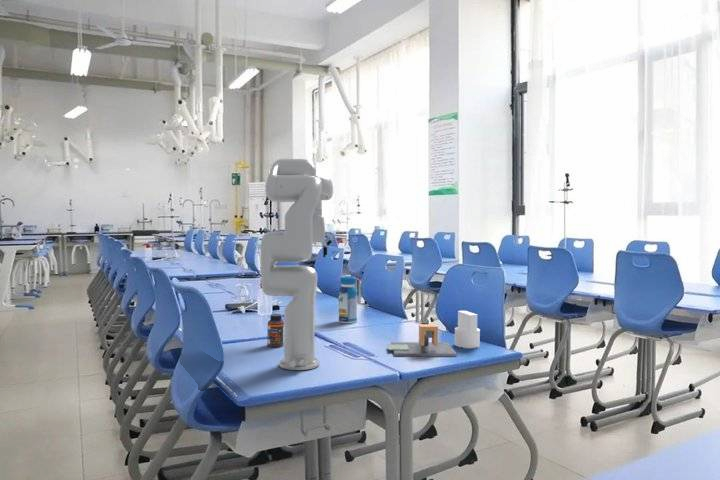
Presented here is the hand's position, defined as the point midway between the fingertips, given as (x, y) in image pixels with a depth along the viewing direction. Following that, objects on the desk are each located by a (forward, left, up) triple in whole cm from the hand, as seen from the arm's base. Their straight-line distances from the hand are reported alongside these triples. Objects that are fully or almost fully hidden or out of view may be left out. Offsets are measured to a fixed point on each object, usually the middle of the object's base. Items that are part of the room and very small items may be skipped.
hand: (312, 256), depth 217 cm
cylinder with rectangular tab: (-17, -58, -31) cm, 68 cm away
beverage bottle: (+26, -14, -31) cm, 43 cm away
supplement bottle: (-18, +12, -31) cm, 38 cm away
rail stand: (-25, -40, -31) cm, 56 cm away
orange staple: (-29, -42, -28) cm, 58 cm away
